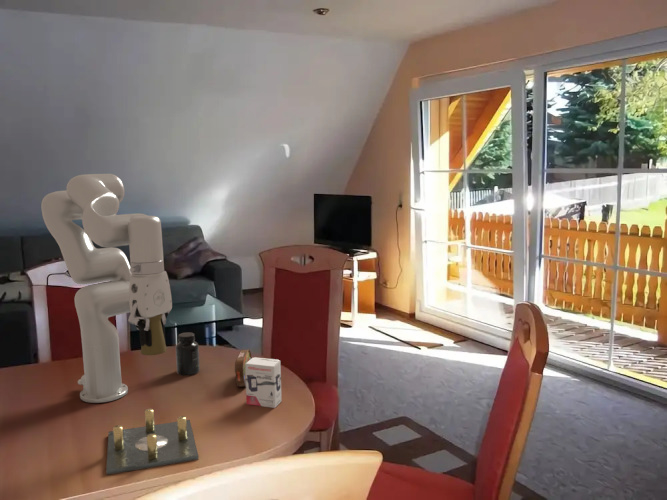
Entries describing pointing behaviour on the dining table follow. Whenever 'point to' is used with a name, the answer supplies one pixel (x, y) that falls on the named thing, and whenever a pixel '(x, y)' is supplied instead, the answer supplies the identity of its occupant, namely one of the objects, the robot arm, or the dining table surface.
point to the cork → (155, 338)
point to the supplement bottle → (187, 355)
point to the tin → (242, 367)
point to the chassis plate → (141, 456)
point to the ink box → (263, 382)
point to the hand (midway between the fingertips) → (153, 342)
